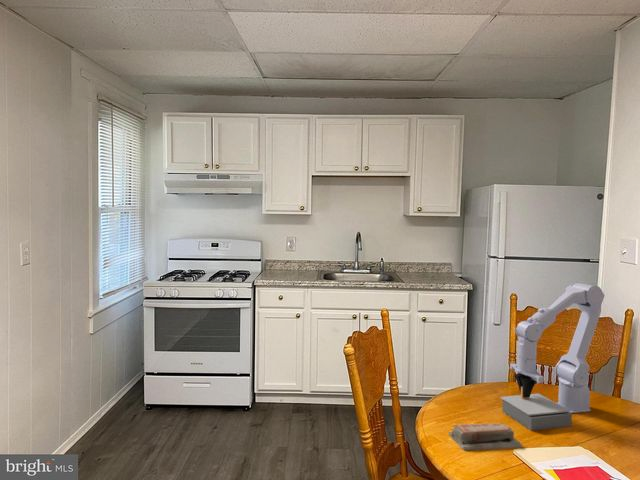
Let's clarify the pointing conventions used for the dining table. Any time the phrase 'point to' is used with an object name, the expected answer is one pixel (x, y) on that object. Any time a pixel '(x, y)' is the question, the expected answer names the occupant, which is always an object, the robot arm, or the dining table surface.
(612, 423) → the dining table surface
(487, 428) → the packaged product
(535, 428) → the carton
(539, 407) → the carton lid
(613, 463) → the dining table surface
